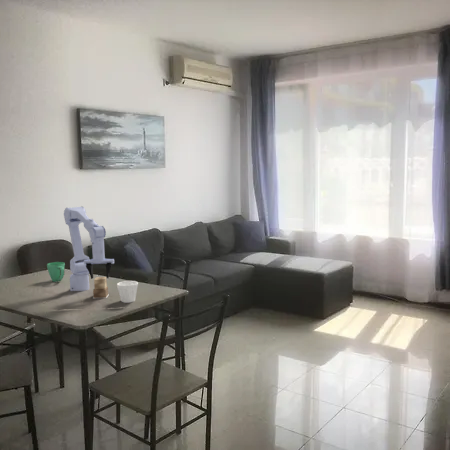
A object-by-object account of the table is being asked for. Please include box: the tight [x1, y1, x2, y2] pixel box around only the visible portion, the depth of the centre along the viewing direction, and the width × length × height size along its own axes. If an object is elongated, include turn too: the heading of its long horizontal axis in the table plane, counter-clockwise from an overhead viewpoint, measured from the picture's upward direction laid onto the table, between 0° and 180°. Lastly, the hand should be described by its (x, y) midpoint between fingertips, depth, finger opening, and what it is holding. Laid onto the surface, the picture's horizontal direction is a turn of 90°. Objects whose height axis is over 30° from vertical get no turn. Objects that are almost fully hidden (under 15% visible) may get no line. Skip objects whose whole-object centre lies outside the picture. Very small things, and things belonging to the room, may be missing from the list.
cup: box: [116, 280, 139, 304], centre depth 244 cm, size 10×10×9 cm
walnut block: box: [92, 286, 109, 299], centre depth 254 cm, size 6×6×4 cm
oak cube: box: [93, 276, 108, 290], centre depth 254 cm, size 5×5×5 cm
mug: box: [46, 261, 66, 283], centre depth 291 cm, size 15×10×10 cm
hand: (100, 278), depth 253 cm, fingers open, 7 cm apart
